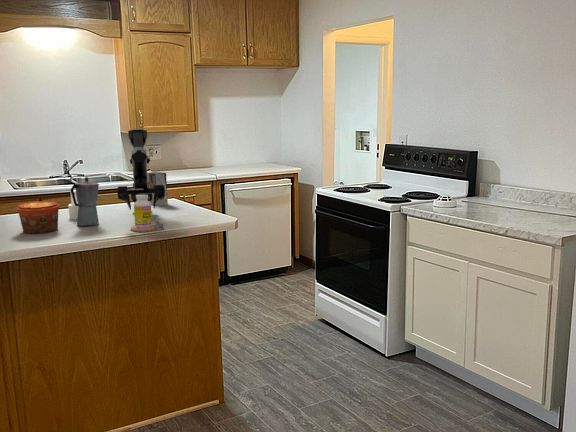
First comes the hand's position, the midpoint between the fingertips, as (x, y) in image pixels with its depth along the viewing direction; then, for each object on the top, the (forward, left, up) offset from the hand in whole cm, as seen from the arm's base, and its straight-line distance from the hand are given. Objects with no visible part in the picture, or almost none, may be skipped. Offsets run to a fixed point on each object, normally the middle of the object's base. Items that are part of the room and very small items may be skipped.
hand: (142, 208), depth 226 cm
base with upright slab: (-42, +12, -9) cm, 44 cm away
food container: (-39, -15, -9) cm, 42 cm away
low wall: (+4, +5, -8) cm, 11 cm away
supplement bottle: (0, +1, -8) cm, 8 cm away
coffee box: (-27, +52, -9) cm, 59 cm away
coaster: (0, 0, -8) cm, 9 cm away
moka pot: (-28, 0, -9) cm, 29 cm away
